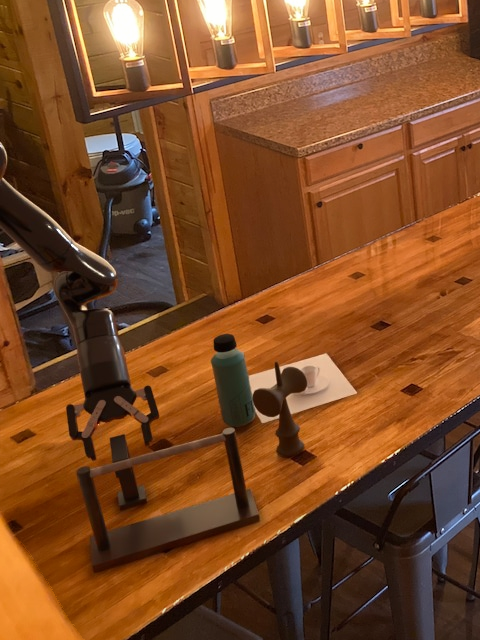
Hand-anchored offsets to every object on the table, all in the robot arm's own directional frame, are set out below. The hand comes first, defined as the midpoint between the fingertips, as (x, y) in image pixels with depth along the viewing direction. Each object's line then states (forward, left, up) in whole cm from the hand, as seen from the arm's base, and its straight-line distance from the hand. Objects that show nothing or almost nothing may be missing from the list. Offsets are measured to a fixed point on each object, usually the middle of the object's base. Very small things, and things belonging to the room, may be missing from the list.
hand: (121, 452), depth 166 cm
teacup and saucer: (+34, +24, -10) cm, 43 cm away
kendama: (+28, +1, -10) cm, 30 cm away
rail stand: (+6, -13, -10) cm, 18 cm away
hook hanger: (0, -3, -10) cm, 10 cm away
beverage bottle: (+21, +15, -10) cm, 28 cm away
